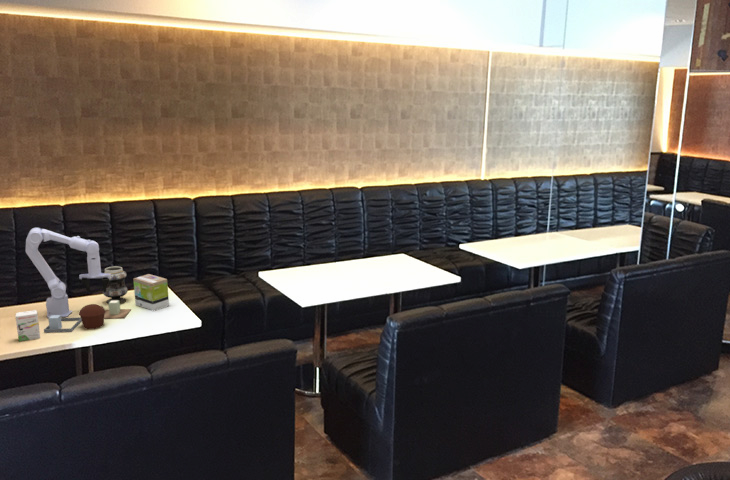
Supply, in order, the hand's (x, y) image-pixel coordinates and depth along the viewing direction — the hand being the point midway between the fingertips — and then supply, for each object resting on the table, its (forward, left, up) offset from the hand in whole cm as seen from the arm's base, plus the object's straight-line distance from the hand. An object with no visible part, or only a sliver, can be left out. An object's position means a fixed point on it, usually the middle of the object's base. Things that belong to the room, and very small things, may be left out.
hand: (96, 292), depth 316 cm
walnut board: (+10, -7, -9) cm, 15 cm away
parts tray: (-9, -22, -9) cm, 25 cm away
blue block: (-11, -25, -10) cm, 29 cm away
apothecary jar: (+5, +13, -10) cm, 17 cm away
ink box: (-19, -35, -10) cm, 41 cm away
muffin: (+4, -22, -10) cm, 24 cm away
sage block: (+10, -7, -9) cm, 15 cm away
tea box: (+25, +5, -10) cm, 27 cm away
